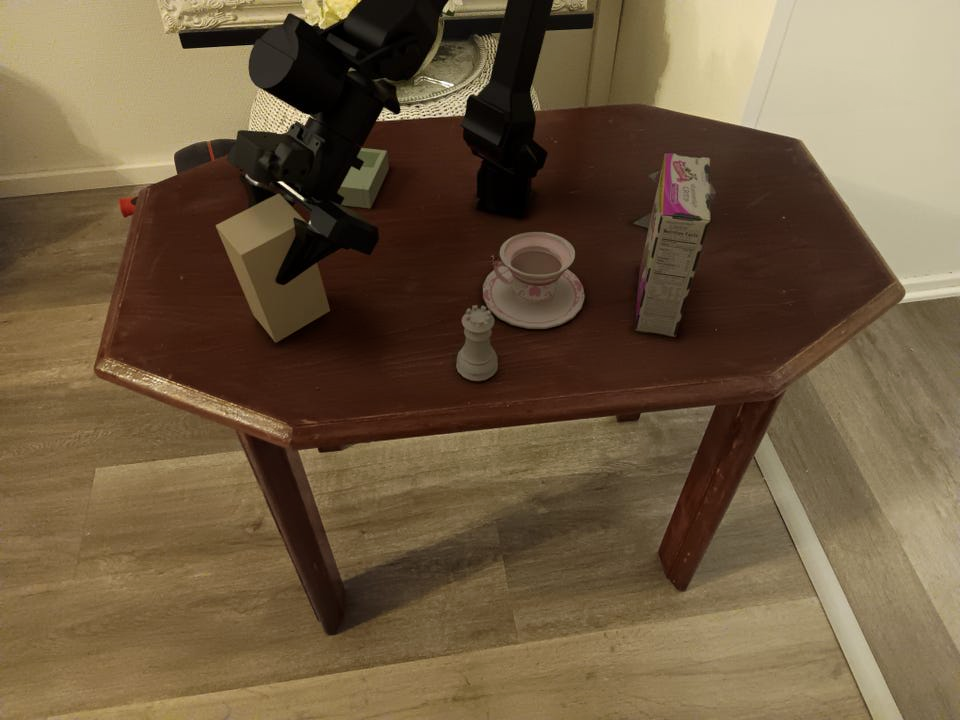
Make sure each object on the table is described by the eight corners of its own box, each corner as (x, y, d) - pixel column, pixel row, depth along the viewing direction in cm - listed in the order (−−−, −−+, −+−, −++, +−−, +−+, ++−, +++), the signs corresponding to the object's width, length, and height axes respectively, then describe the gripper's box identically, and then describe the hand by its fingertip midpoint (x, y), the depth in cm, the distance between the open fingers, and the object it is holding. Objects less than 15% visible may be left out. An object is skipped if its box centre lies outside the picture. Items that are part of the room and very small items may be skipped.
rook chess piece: (454, 353, 78) (454, 299, 72) (495, 351, 78) (498, 297, 72) (457, 384, 75) (456, 331, 69) (500, 382, 75) (503, 328, 69)
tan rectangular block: (306, 284, 83) (279, 193, 71) (330, 310, 81) (305, 221, 69) (253, 314, 80) (215, 225, 69) (275, 343, 78) (240, 255, 67)
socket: (388, 169, 102) (387, 150, 100) (370, 208, 96) (368, 189, 93) (310, 160, 103) (306, 141, 101) (287, 199, 97) (283, 179, 95)
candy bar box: (636, 269, 88) (664, 150, 76) (678, 275, 87) (712, 156, 75) (631, 333, 81) (660, 212, 69) (676, 339, 80) (713, 219, 68)
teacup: (569, 257, 89) (575, 216, 85) (596, 324, 81) (604, 283, 77) (474, 267, 88) (474, 226, 83) (492, 336, 80) (494, 295, 75)
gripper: (219, 61, 68) (148, 205, 71) (337, 138, 59) (251, 299, 62) (303, 110, 78) (237, 235, 81) (415, 182, 69) (337, 320, 72)
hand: (262, 268), depth 73 cm, fingers closed on tan rectangular block, 6 cm apart
